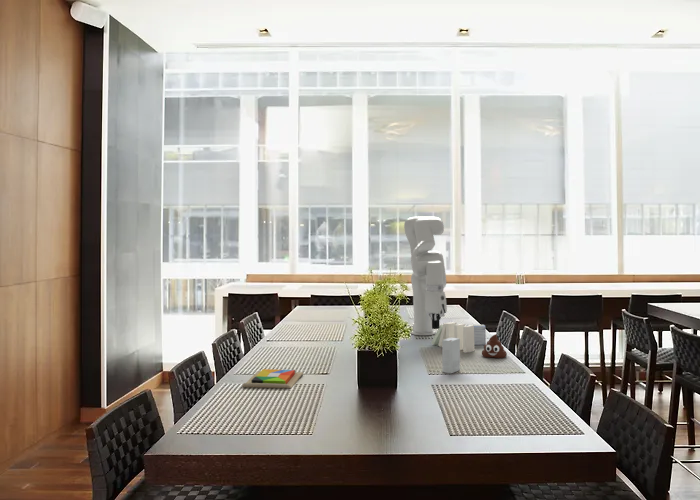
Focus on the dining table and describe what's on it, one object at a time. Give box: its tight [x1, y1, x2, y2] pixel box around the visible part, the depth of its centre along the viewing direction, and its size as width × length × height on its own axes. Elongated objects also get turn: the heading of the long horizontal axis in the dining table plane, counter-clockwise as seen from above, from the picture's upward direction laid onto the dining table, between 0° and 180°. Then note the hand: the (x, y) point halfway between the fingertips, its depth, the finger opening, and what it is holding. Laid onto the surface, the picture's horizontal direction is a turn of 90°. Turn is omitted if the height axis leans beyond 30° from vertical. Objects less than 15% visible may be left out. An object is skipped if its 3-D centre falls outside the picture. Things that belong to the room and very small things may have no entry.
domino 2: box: [437, 321, 453, 348], centre depth 263 cm, size 2×5×11 cm, turn 125°
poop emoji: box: [481, 333, 508, 359], centre depth 241 cm, size 10×8×9 cm
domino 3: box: [445, 321, 458, 339], centre depth 260 cm, size 2×5×11 cm, turn 125°
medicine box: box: [466, 324, 487, 346], centre depth 267 cm, size 8×4×9 cm, turn 84°
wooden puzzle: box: [241, 368, 304, 389], centre depth 210 cm, size 18×19×4 cm
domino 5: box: [462, 324, 475, 353], centre depth 251 cm, size 2×5×11 cm, turn 125°
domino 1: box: [430, 324, 443, 346], centre depth 266 cm, size 2×5×11 cm
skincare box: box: [441, 338, 461, 374], centre depth 218 cm, size 6×4×12 cm
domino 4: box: [454, 323, 466, 351], centre depth 256 cm, size 2×5×11 cm, turn 124°
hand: (435, 328), depth 268 cm, fingers closed
